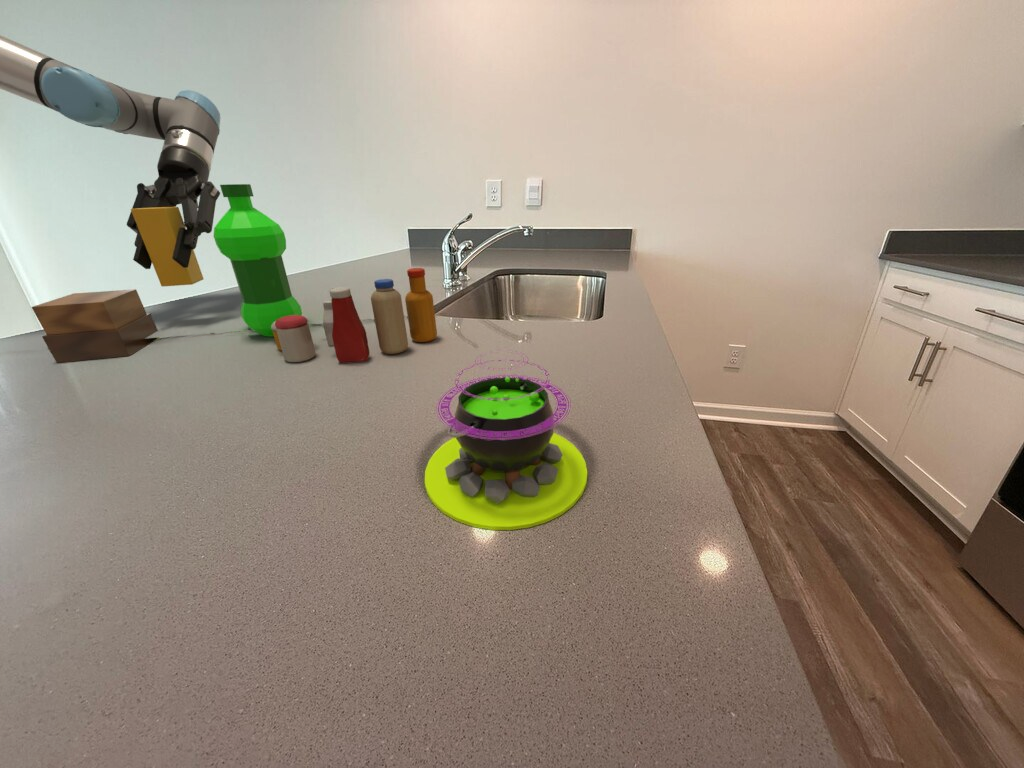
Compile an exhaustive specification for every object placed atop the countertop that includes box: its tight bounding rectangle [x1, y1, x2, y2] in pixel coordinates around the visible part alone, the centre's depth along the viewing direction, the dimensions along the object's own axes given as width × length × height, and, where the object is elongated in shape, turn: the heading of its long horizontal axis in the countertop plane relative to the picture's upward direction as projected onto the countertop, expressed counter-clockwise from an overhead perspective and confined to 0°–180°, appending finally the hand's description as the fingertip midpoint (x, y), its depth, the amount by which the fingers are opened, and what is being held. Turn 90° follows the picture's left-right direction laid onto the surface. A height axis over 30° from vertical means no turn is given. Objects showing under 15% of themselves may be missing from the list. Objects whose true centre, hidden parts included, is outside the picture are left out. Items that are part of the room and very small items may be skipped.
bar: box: [130, 206, 205, 288], centre depth 74 cm, size 5×5×13 cm
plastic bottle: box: [213, 183, 303, 338], centre depth 71 cm, size 10×10×25 cm
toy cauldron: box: [424, 349, 588, 531], centre depth 35 cm, size 15×15×11 cm
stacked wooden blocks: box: [31, 288, 160, 364], centre depth 68 cm, size 10×10×9 cm
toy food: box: [271, 267, 438, 364], centre depth 65 cm, size 27×13×12 cm, turn 92°
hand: (161, 263), depth 71 cm, fingers closed on bar, 6 cm apart
